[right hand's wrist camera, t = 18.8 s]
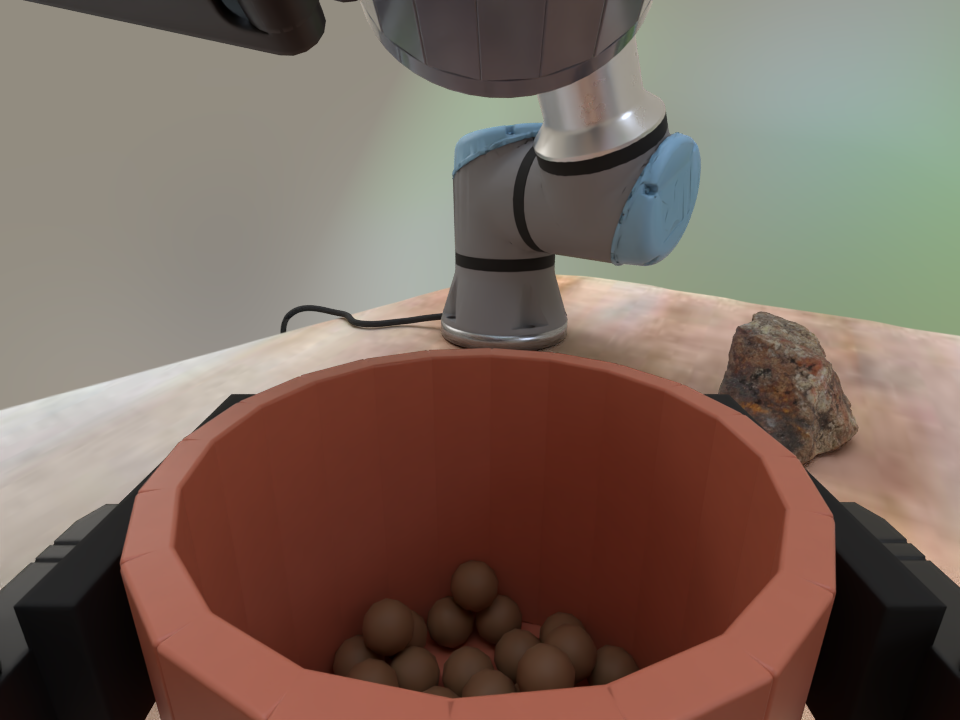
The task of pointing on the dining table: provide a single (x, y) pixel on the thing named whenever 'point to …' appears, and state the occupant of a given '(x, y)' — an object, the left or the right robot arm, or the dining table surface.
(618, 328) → the dining table surface
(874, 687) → the right robot arm
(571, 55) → the beaker
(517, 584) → the pot
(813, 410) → the rock
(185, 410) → the dining table surface
